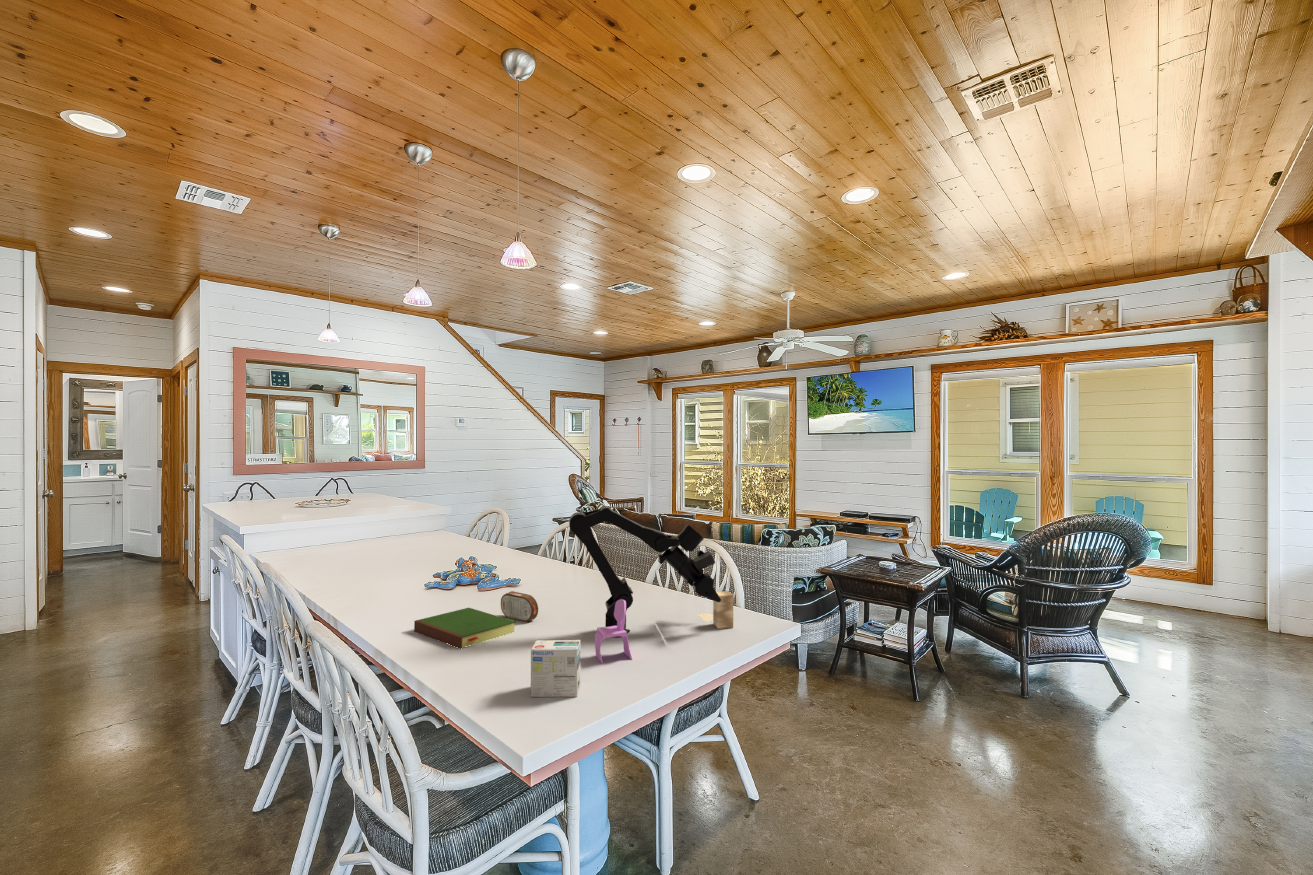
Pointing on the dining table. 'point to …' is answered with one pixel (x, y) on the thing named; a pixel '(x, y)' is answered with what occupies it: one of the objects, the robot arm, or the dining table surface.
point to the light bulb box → (555, 668)
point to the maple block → (723, 610)
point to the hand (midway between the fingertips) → (716, 597)
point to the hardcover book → (464, 627)
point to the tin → (519, 606)
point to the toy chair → (614, 630)
